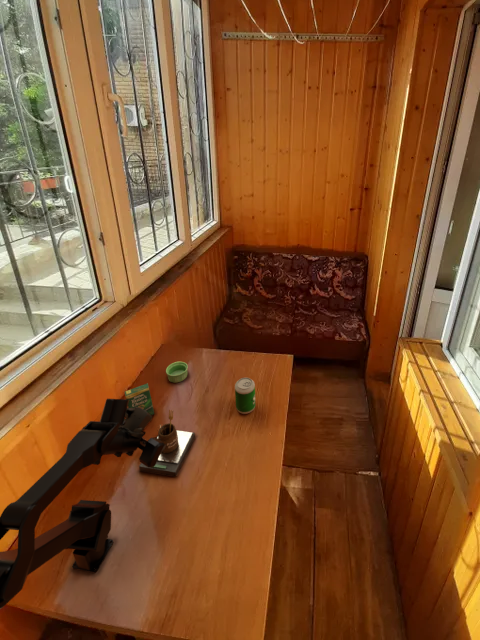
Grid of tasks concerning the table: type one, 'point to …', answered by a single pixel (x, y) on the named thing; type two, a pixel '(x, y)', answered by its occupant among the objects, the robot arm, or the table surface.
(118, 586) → the table surface
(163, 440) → the utensil holder
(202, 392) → the table surface
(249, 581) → the table surface
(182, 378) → the ramekin
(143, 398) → the coffee box
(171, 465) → the kitchen scale
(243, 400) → the soda can
